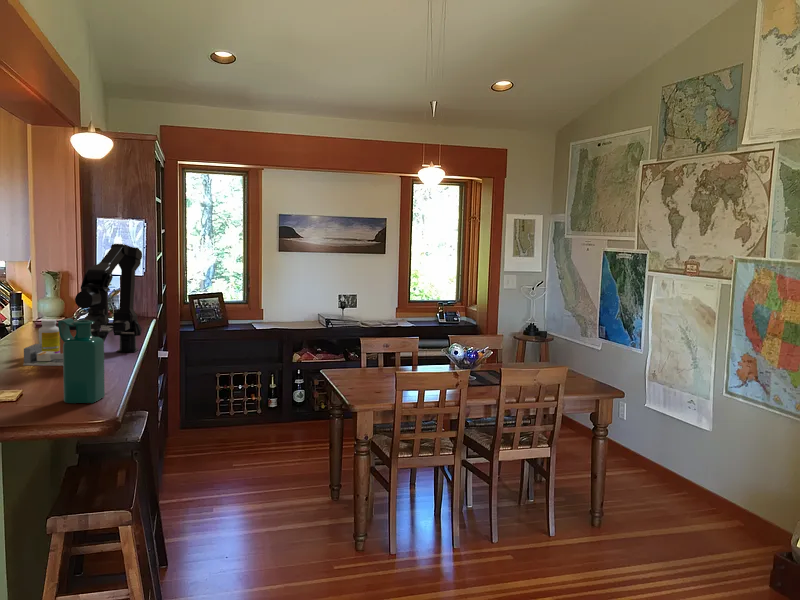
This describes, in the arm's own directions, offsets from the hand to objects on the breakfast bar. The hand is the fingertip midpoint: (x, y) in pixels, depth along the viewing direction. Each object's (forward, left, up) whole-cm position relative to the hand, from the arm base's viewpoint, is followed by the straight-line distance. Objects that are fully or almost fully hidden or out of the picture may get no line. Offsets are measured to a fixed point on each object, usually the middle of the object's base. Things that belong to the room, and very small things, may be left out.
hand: (99, 350), depth 214 cm
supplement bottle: (-12, -21, -5) cm, 25 cm away
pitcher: (+48, +11, -5) cm, 49 cm away
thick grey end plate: (+1, -13, -4) cm, 13 cm away
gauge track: (0, -16, -4) cm, 16 cm away
